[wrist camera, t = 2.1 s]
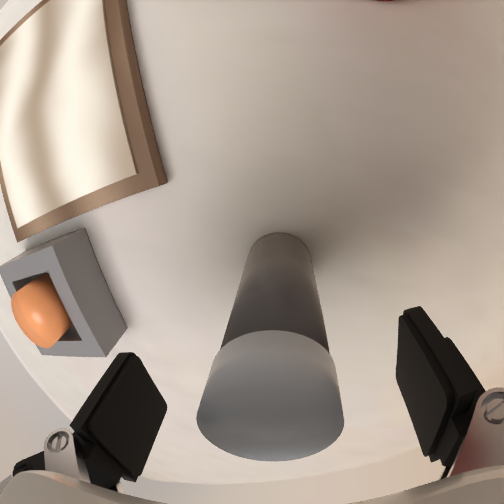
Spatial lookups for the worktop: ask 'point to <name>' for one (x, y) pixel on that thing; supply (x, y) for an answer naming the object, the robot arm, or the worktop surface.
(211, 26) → the worktop surface
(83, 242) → the button housing
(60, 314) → the button
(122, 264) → the worktop surface
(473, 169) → the worktop surface
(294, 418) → the grey tall cylinder
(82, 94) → the board
